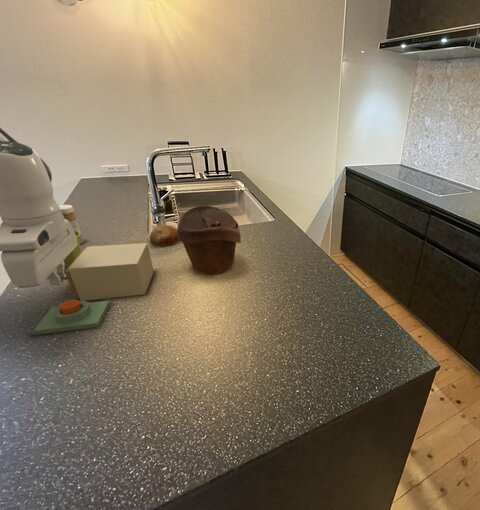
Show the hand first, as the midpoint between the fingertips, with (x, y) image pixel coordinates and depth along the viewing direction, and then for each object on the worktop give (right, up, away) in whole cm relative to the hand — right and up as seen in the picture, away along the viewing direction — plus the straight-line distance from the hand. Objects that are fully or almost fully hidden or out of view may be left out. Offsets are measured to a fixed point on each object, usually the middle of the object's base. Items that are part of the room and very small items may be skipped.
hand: (59, 281), depth 69 cm
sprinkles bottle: (-29, +10, +38) cm, 49 cm away
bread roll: (-1, +11, +45) cm, 47 cm away
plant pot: (-22, +4, +28) cm, 36 cm away
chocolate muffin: (+22, +3, +32) cm, 39 cm away
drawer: (-3, -2, +17) cm, 17 cm away
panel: (-1, -9, +5) cm, 11 cm away
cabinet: (+1, -3, +18) cm, 19 cm away
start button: (0, -7, +4) cm, 8 cm away
